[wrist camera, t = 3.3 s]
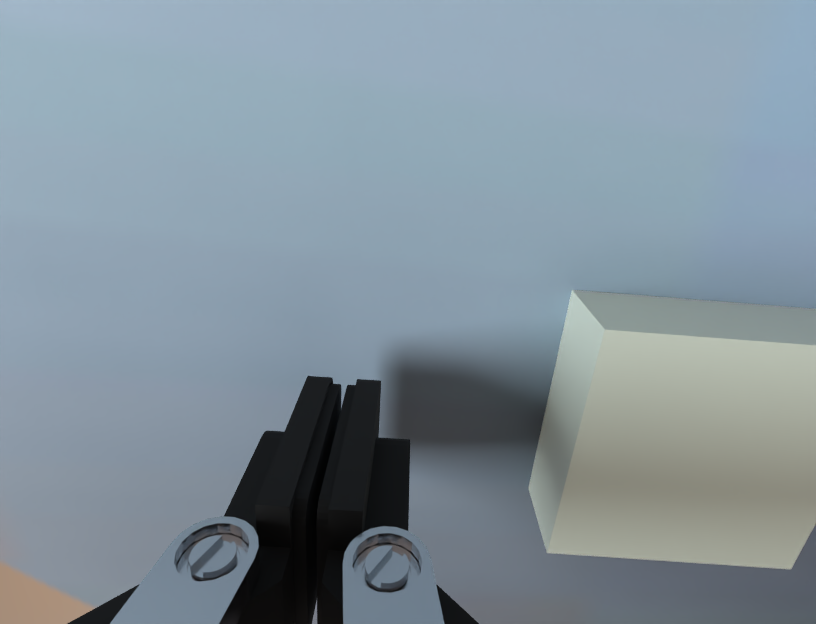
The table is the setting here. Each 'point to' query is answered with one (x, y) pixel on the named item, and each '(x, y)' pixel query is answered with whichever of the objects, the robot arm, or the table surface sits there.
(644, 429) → the sage tile
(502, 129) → the table surface
